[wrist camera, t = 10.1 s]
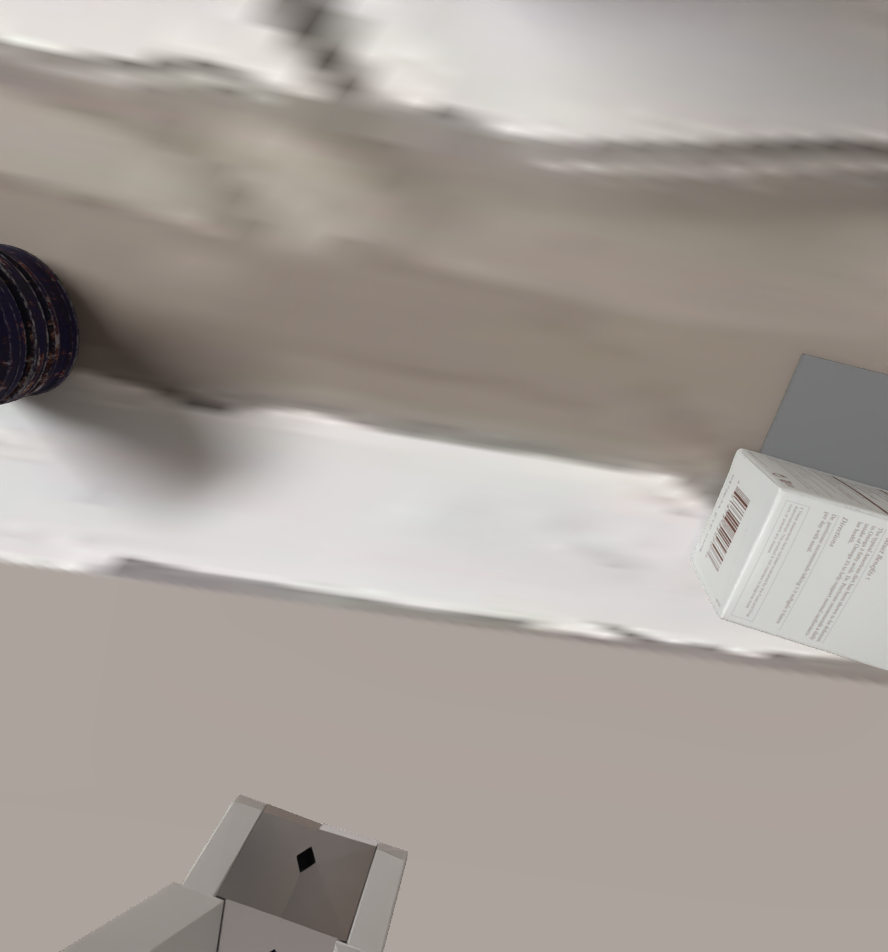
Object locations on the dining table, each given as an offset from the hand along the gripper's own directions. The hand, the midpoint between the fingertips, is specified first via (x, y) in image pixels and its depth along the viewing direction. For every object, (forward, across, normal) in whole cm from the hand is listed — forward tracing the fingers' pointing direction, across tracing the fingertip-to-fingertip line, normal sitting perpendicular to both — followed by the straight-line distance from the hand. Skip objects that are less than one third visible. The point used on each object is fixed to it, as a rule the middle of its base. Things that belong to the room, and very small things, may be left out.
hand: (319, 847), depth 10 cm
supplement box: (+24, -13, 0) cm, 28 cm away
